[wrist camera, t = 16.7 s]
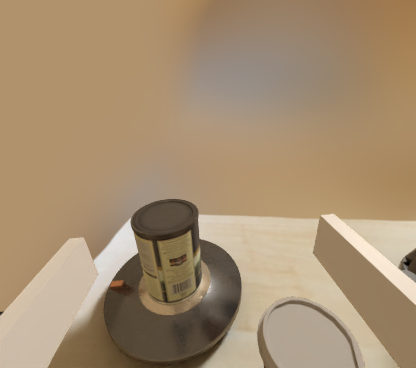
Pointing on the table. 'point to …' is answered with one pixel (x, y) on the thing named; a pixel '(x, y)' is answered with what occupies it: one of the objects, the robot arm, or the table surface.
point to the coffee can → (169, 250)
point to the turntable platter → (173, 311)
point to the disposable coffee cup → (305, 337)
